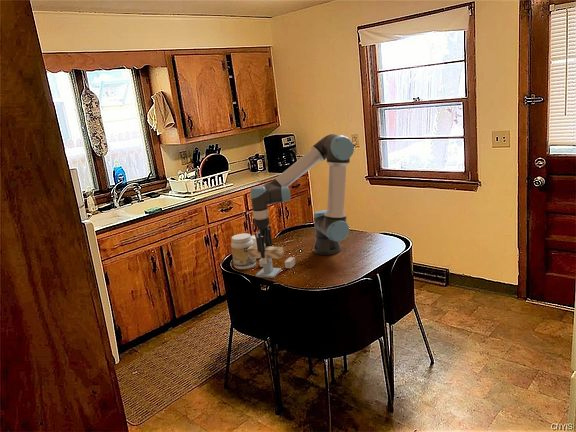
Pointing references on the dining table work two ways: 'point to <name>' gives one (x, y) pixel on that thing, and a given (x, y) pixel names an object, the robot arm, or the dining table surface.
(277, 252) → the bar
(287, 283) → the dining table surface
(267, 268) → the pale grey stand
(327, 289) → the dining table surface
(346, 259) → the dining table surface
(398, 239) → the dining table surface
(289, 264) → the rack
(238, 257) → the supplement tub
